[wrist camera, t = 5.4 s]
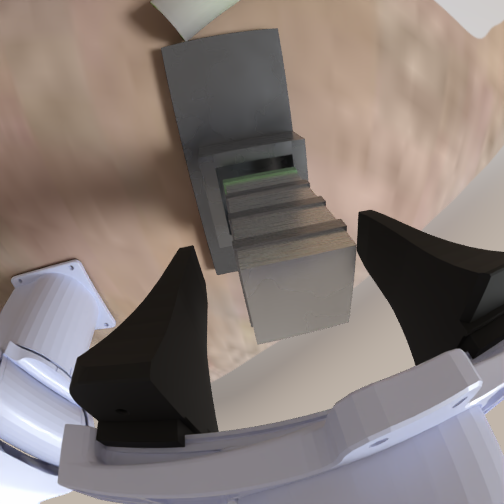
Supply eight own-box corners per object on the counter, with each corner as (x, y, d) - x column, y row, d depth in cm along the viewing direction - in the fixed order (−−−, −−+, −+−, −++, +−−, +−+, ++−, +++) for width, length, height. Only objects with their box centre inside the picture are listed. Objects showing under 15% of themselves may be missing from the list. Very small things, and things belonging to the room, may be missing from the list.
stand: (216, 269, 23) (219, 304, 20) (163, 49, 14) (150, 40, 10) (300, 251, 23) (316, 283, 20) (274, 30, 14) (292, 18, 10)
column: (235, 241, 17) (255, 346, 10) (222, 179, 14) (236, 268, 8) (299, 228, 17) (351, 323, 10) (294, 166, 14) (359, 241, 8)
